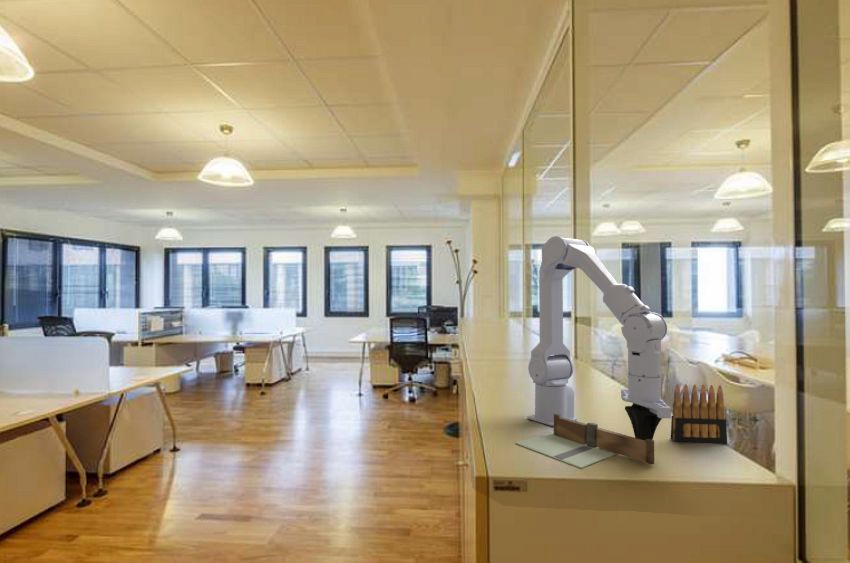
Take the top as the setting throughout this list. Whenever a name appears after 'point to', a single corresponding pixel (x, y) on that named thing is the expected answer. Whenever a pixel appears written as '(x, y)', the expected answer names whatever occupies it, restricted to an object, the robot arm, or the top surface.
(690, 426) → the ammunition clip
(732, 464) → the top surface
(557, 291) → the robot arm
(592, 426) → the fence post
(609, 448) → the fence gate
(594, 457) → the card
